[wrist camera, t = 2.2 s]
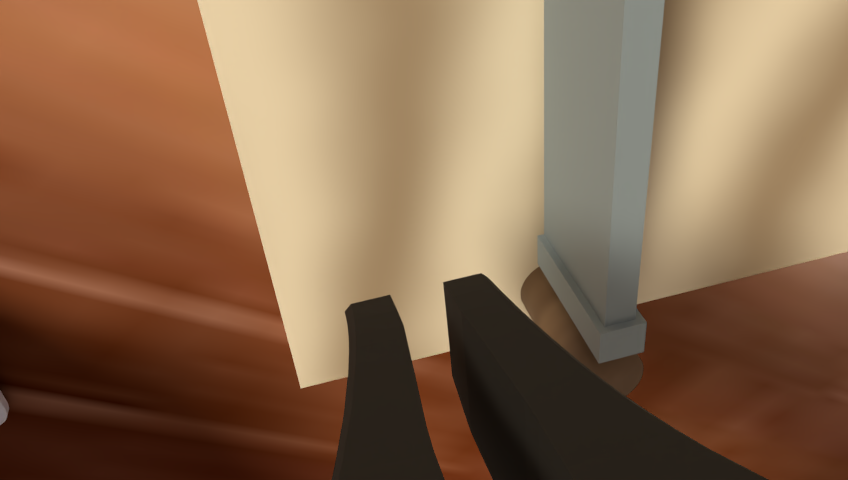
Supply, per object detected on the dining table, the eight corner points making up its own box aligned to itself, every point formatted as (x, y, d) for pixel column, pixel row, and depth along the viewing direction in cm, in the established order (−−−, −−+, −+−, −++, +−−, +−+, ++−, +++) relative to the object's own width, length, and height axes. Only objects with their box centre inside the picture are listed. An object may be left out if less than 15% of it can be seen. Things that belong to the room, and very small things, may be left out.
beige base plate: (296, 365, 25) (326, 529, 20) (66, -507, 13) (5, -605, 8) (866, 225, 28) (1008, 340, 23) (1110, -593, 16) (1509, -700, 11)
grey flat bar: (533, -319, 15) (637, -313, 12) (594, -326, 15) (714, -324, 12) (537, 263, 23) (598, 363, 20) (576, 254, 23) (643, 351, 20)
